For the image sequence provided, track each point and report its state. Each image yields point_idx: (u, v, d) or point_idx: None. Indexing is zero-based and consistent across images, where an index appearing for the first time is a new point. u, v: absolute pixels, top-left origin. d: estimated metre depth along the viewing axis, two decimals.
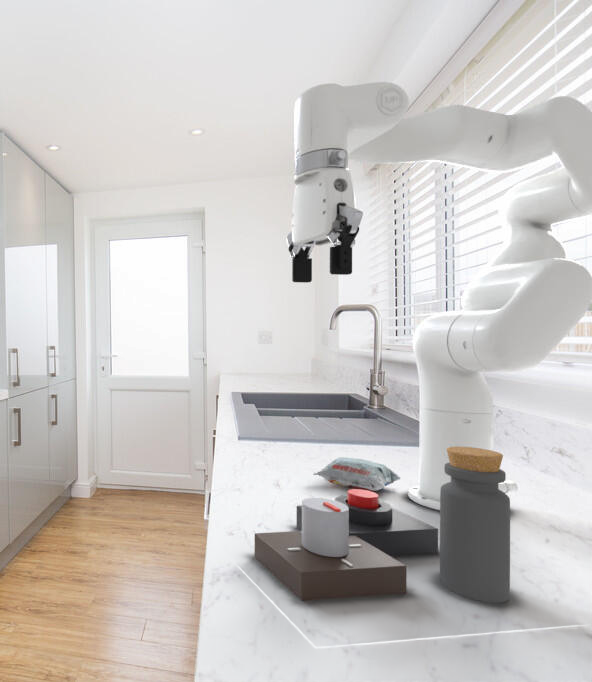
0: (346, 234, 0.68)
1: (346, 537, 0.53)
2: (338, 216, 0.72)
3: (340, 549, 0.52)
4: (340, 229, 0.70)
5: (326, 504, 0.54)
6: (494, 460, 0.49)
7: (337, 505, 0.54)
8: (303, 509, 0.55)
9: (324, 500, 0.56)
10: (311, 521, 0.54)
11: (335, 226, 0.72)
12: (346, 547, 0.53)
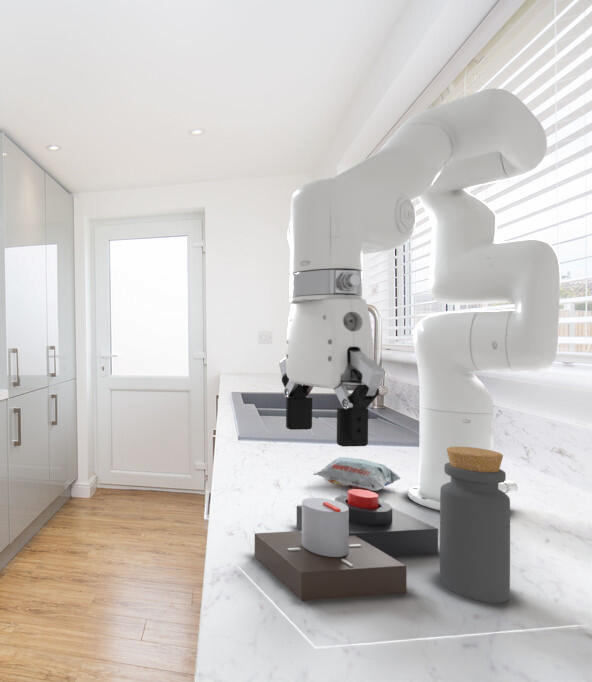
0: (360, 397, 0.48)
1: (346, 537, 0.53)
2: None
3: (340, 549, 0.52)
4: (352, 382, 0.51)
5: (326, 504, 0.54)
6: (494, 460, 0.49)
7: (337, 505, 0.54)
8: (303, 509, 0.55)
9: (324, 500, 0.56)
10: (311, 521, 0.54)
11: (344, 374, 0.52)
12: (346, 547, 0.53)
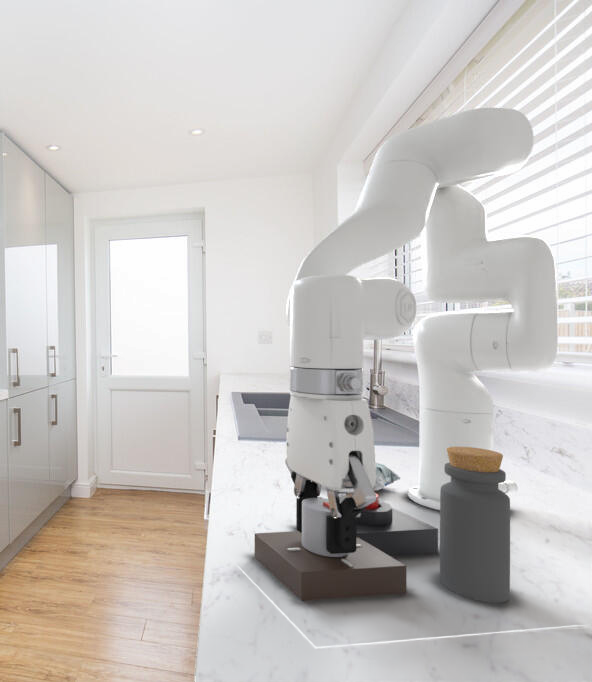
0: (348, 510, 0.50)
1: None
2: None
3: None
4: (346, 490, 0.51)
5: (326, 504, 0.54)
6: (494, 460, 0.49)
7: None
8: (303, 509, 0.55)
9: (324, 500, 0.56)
10: (311, 521, 0.54)
11: None
12: None
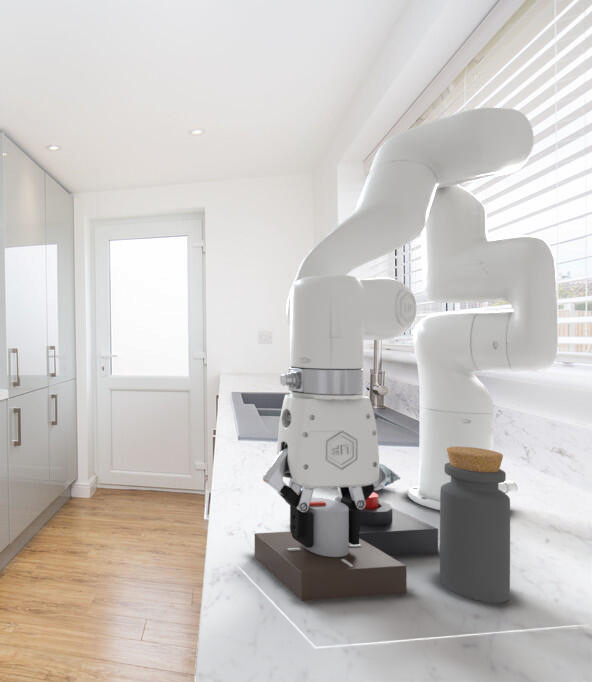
0: (280, 494, 0.55)
1: (314, 535, 0.53)
2: None
3: None
4: (297, 482, 0.54)
5: (318, 502, 0.55)
6: (494, 460, 0.49)
7: (328, 508, 0.53)
8: None
9: (340, 506, 0.54)
10: None
11: None
12: (314, 545, 0.53)
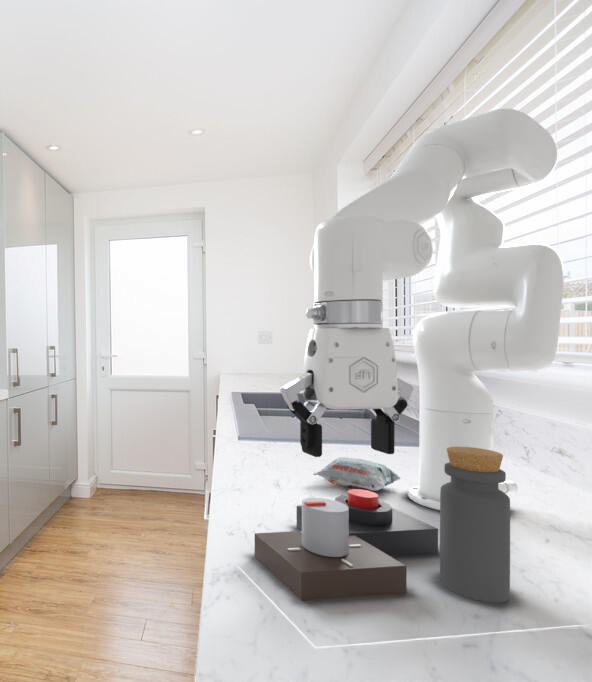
0: (291, 410, 0.59)
1: (314, 535, 0.53)
2: None
3: (307, 542, 0.54)
4: (314, 400, 0.59)
5: (318, 502, 0.55)
6: (494, 460, 0.49)
7: (328, 508, 0.53)
8: None
9: (340, 506, 0.54)
10: None
11: None
12: (314, 545, 0.53)
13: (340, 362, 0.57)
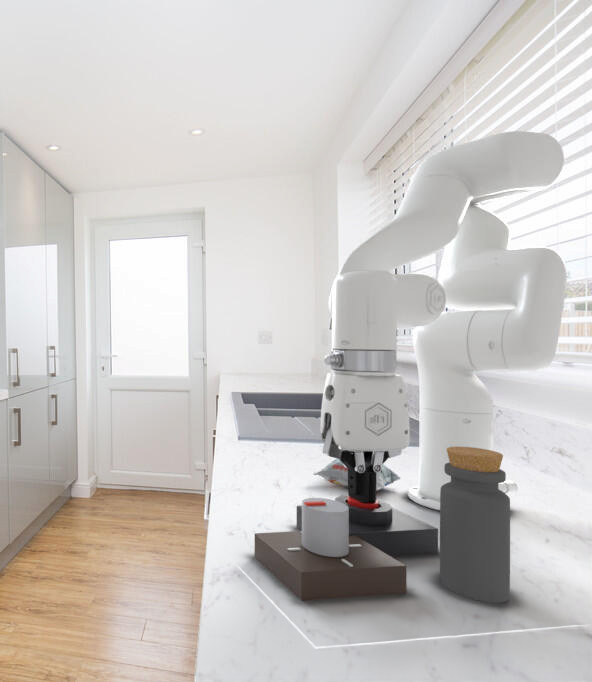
0: (339, 459, 0.64)
1: (314, 535, 0.53)
2: None
3: (307, 542, 0.54)
4: None
5: (318, 502, 0.55)
6: (494, 460, 0.49)
7: (328, 508, 0.53)
8: None
9: (340, 506, 0.54)
10: None
11: None
12: (314, 545, 0.53)
13: (356, 407, 0.61)
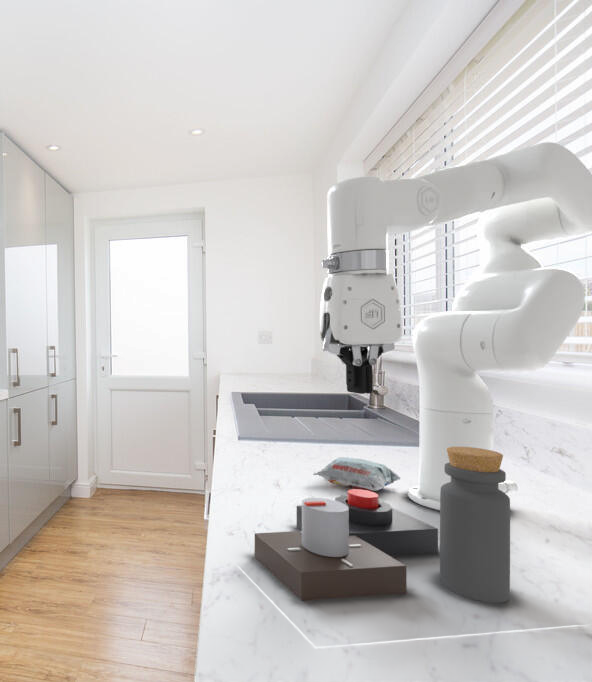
0: (338, 356, 0.69)
1: (314, 535, 0.53)
2: None
3: (307, 542, 0.54)
4: (346, 346, 0.69)
5: (318, 502, 0.55)
6: (494, 460, 0.49)
7: (328, 508, 0.53)
8: None
9: (340, 506, 0.54)
10: None
11: None
12: (314, 545, 0.53)
13: (353, 303, 0.66)
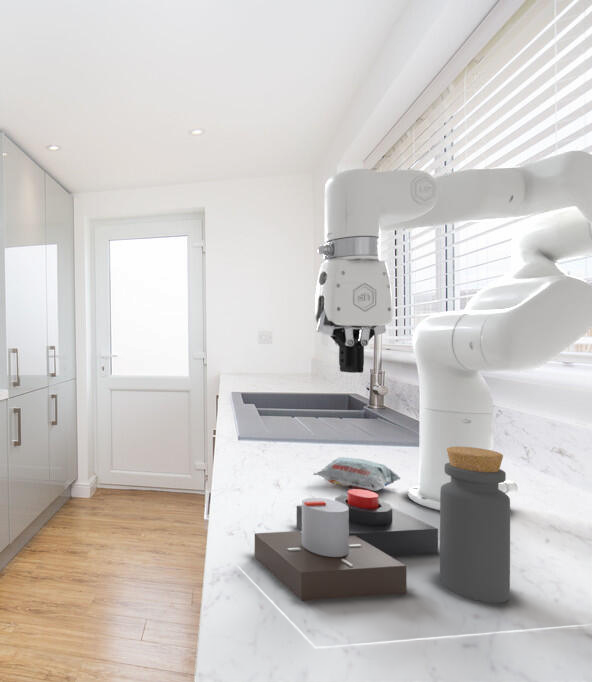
0: (332, 337, 0.74)
1: (314, 535, 0.53)
2: None
3: (307, 542, 0.54)
4: (339, 328, 0.73)
5: (318, 502, 0.55)
6: (494, 460, 0.49)
7: (328, 508, 0.53)
8: None
9: (340, 506, 0.54)
10: None
11: None
12: (314, 545, 0.53)
13: (346, 287, 0.70)
